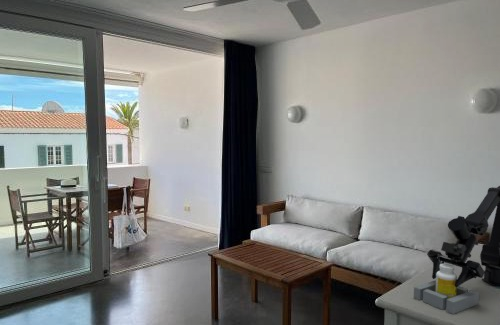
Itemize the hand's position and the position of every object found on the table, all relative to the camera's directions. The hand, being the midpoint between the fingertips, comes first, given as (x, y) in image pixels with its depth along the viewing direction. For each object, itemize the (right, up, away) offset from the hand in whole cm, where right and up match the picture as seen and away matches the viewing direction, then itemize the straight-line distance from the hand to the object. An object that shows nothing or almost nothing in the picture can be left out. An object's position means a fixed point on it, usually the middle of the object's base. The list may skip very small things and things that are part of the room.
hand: (443, 282), depth 138 cm
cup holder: (+1, -7, +1) cm, 7 cm away
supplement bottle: (+1, -7, +1) cm, 7 cm away
